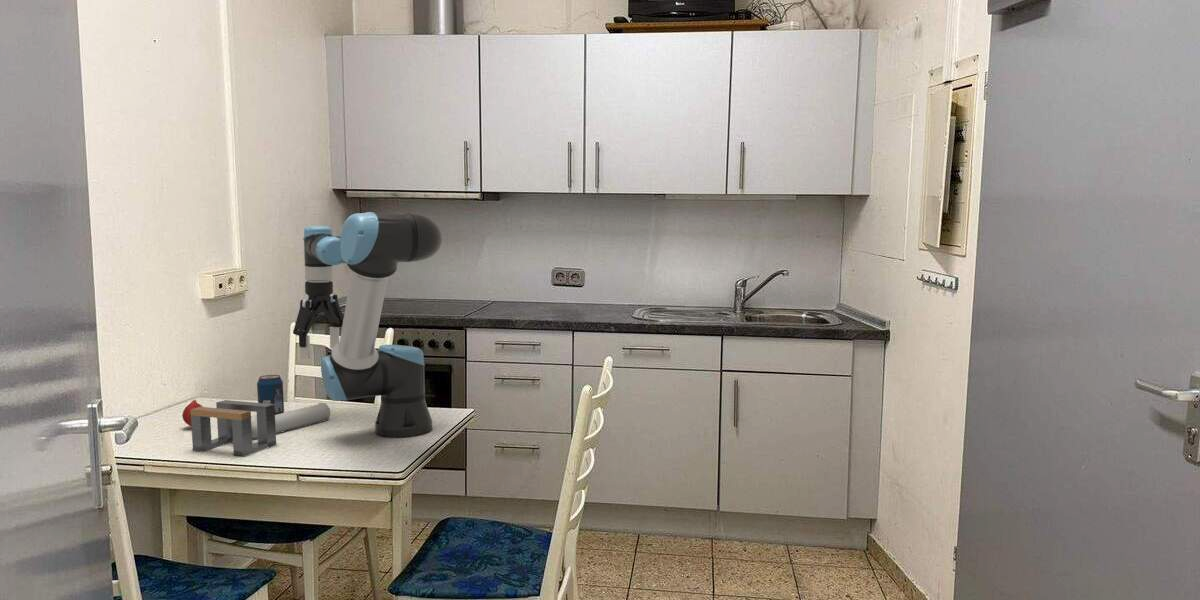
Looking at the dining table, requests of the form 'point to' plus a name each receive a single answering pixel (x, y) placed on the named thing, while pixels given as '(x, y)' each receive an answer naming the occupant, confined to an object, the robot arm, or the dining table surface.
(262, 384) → the soda can
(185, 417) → the onion
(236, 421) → the gray frame
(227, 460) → the dining table surface
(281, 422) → the tube
